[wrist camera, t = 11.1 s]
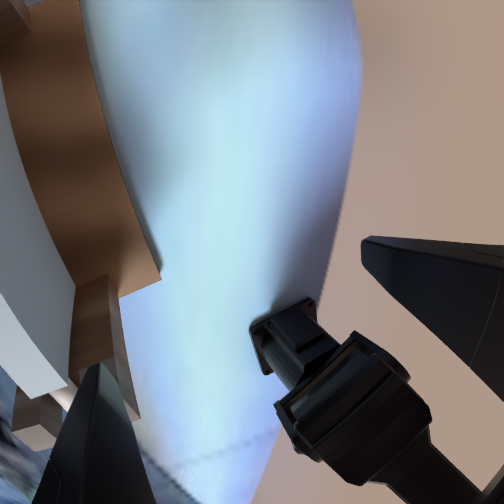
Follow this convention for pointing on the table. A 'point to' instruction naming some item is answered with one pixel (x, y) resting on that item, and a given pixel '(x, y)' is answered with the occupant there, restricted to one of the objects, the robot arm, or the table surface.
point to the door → (31, 285)
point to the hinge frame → (72, 195)
